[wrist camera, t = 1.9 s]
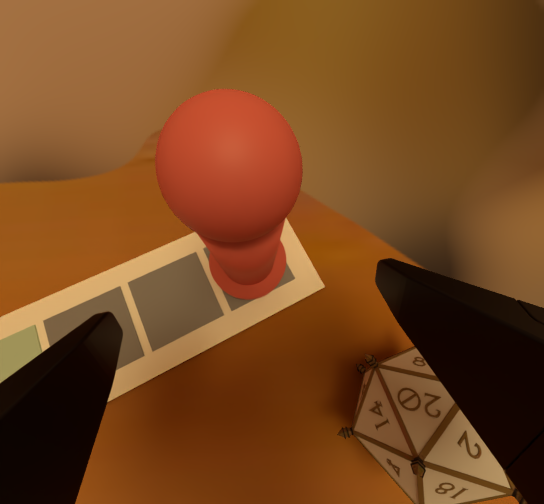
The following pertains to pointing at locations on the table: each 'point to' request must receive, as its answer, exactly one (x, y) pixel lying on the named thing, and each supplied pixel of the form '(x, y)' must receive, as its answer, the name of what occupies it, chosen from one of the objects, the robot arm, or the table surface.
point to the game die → (423, 435)
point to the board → (154, 309)
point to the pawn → (232, 184)
